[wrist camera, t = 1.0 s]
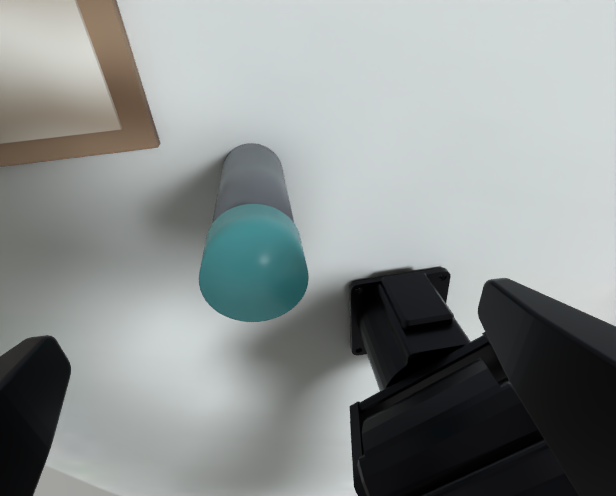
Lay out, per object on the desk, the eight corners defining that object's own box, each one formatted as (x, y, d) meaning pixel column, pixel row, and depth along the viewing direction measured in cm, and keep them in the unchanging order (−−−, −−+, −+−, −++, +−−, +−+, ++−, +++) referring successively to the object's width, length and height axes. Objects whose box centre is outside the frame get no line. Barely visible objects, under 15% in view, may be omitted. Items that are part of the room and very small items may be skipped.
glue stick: (287, 197, 19) (312, 313, 12) (227, 205, 19) (212, 328, 11) (280, 137, 17) (303, 227, 10) (213, 145, 17) (186, 244, 10)
